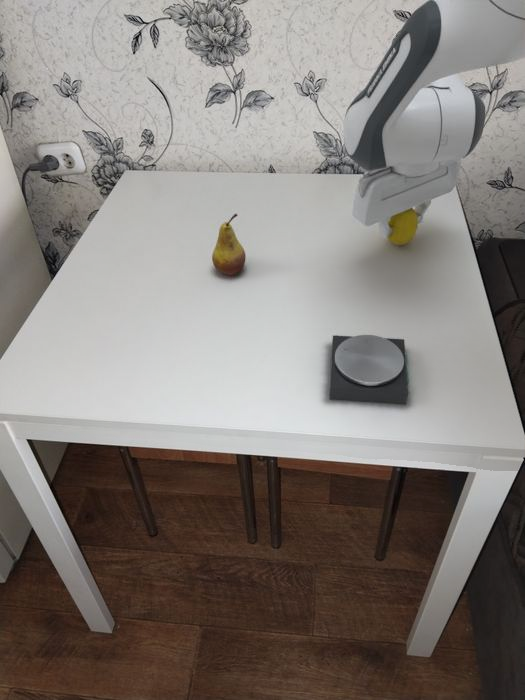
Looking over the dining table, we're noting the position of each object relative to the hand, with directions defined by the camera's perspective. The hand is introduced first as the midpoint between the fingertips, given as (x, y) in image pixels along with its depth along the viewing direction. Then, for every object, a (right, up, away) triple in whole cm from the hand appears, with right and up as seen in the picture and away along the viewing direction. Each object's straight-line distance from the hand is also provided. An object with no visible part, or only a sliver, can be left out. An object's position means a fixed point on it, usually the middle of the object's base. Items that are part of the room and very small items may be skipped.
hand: (400, 228), depth 102 cm
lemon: (0, -3, +2) cm, 4 cm away
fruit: (-29, -8, -1) cm, 30 cm away
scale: (-9, -24, -20) cm, 33 cm away
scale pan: (-9, -22, -22) cm, 33 cm away
